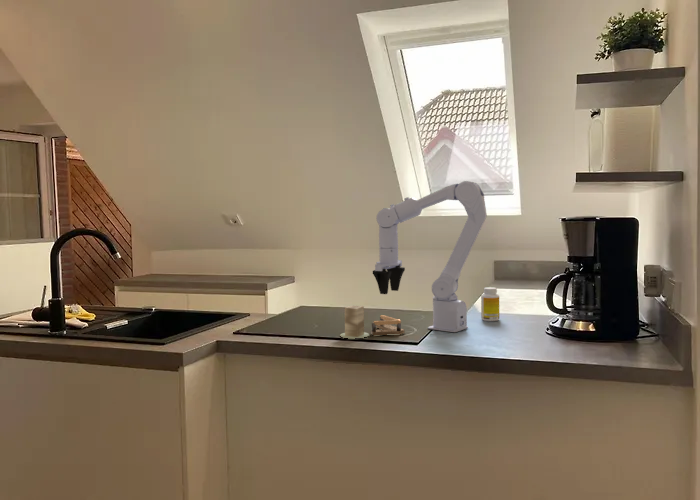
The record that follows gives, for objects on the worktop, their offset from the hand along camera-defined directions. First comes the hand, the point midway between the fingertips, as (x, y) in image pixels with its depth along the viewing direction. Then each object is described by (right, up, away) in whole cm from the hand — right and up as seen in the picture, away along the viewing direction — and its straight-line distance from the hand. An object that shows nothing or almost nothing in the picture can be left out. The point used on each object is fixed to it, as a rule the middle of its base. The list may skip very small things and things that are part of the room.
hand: (389, 292), depth 179 cm
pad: (-11, -12, -12) cm, 20 cm away
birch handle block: (-11, -11, -12) cm, 20 cm away
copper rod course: (-2, -11, -9) cm, 14 cm away
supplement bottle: (+32, -10, +6) cm, 34 cm away
